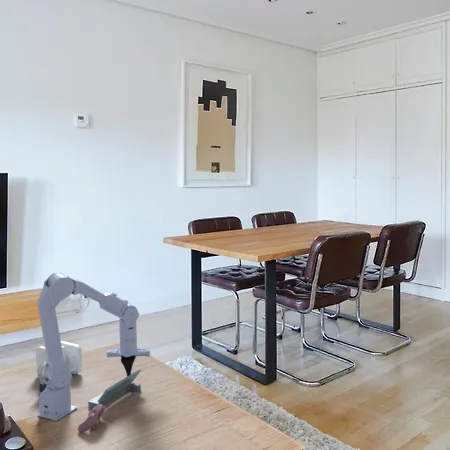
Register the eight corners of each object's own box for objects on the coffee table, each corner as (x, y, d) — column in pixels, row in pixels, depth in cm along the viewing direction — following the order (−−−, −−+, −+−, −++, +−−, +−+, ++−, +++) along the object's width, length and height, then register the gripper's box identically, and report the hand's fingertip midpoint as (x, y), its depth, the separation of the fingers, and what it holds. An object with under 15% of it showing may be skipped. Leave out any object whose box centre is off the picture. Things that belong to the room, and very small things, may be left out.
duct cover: (107, 391, 155) (106, 389, 155) (98, 403, 157) (97, 401, 157) (140, 370, 171) (139, 369, 172) (132, 381, 173) (130, 380, 174)
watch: (64, 389, 173) (63, 359, 172) (44, 397, 167) (43, 366, 166) (54, 385, 176) (53, 355, 175) (34, 393, 170) (33, 362, 169)
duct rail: (107, 412, 156) (107, 405, 156) (88, 407, 159) (88, 400, 159) (140, 390, 172) (140, 383, 172) (122, 386, 175) (122, 380, 175)
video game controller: (89, 439, 143) (99, 418, 142) (75, 431, 143) (85, 411, 142) (101, 422, 153) (110, 403, 152) (88, 415, 153) (97, 396, 152)
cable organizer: (34, 376, 185) (33, 346, 184) (57, 366, 194) (56, 338, 193) (61, 384, 178) (60, 353, 176) (84, 374, 187) (83, 344, 185)
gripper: (104, 342, 163) (105, 381, 165) (148, 341, 164) (149, 380, 165) (108, 335, 170) (109, 373, 172) (150, 335, 171) (151, 372, 172)
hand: (129, 376), depth 169 cm, fingers closed, pressing on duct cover
